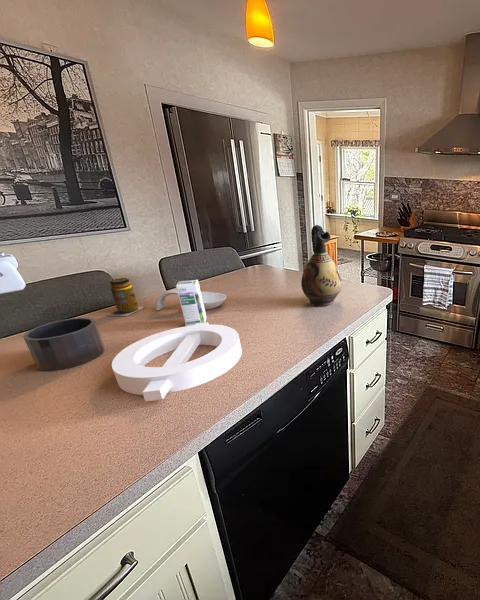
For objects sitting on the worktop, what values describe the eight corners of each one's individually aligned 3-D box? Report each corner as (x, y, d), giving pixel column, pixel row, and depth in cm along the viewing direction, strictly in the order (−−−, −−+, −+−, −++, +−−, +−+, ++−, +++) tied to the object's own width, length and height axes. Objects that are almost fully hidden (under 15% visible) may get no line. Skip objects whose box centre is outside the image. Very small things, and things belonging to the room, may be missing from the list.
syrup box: (185, 327, 108) (174, 285, 103) (188, 320, 113) (178, 280, 108) (205, 324, 110) (195, 283, 105) (207, 317, 115) (198, 278, 110)
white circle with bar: (206, 330, 105) (203, 317, 104) (262, 353, 92) (260, 338, 90) (97, 372, 83) (91, 356, 81) (151, 410, 70) (145, 392, 68)
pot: (41, 377, 81) (26, 345, 78) (33, 359, 88) (20, 329, 85) (111, 355, 91) (100, 326, 88) (98, 340, 99) (88, 313, 95)
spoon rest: (231, 300, 131) (228, 283, 128) (222, 311, 120) (218, 293, 118) (167, 303, 127) (162, 286, 125) (151, 315, 116) (145, 297, 114)
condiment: (144, 307, 124) (135, 277, 119) (128, 316, 116) (117, 284, 112) (125, 307, 123) (115, 277, 119) (107, 316, 116) (96, 284, 111)
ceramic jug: (349, 304, 128) (345, 227, 118) (311, 312, 120) (303, 230, 109) (332, 292, 141) (327, 222, 131) (296, 298, 133) (288, 224, 122)
